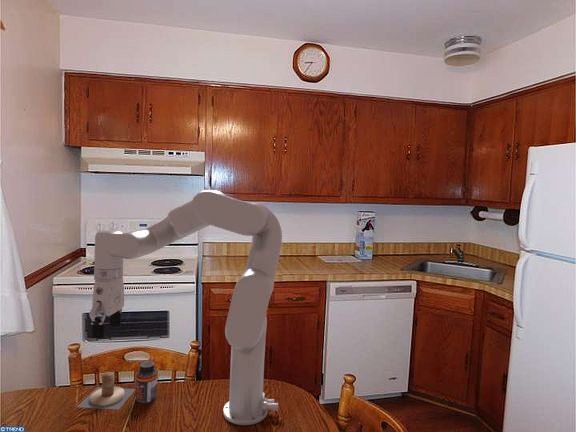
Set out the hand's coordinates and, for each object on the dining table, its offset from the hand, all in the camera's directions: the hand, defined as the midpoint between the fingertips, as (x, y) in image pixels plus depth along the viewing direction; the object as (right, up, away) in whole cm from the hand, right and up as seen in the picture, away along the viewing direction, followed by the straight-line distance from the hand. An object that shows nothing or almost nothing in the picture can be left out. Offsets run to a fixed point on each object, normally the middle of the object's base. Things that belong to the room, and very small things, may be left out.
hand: (107, 331), depth 107 cm
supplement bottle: (+11, -21, +2) cm, 24 cm away
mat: (0, -21, +1) cm, 21 cm away
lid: (0, -20, +1) cm, 20 cm away
